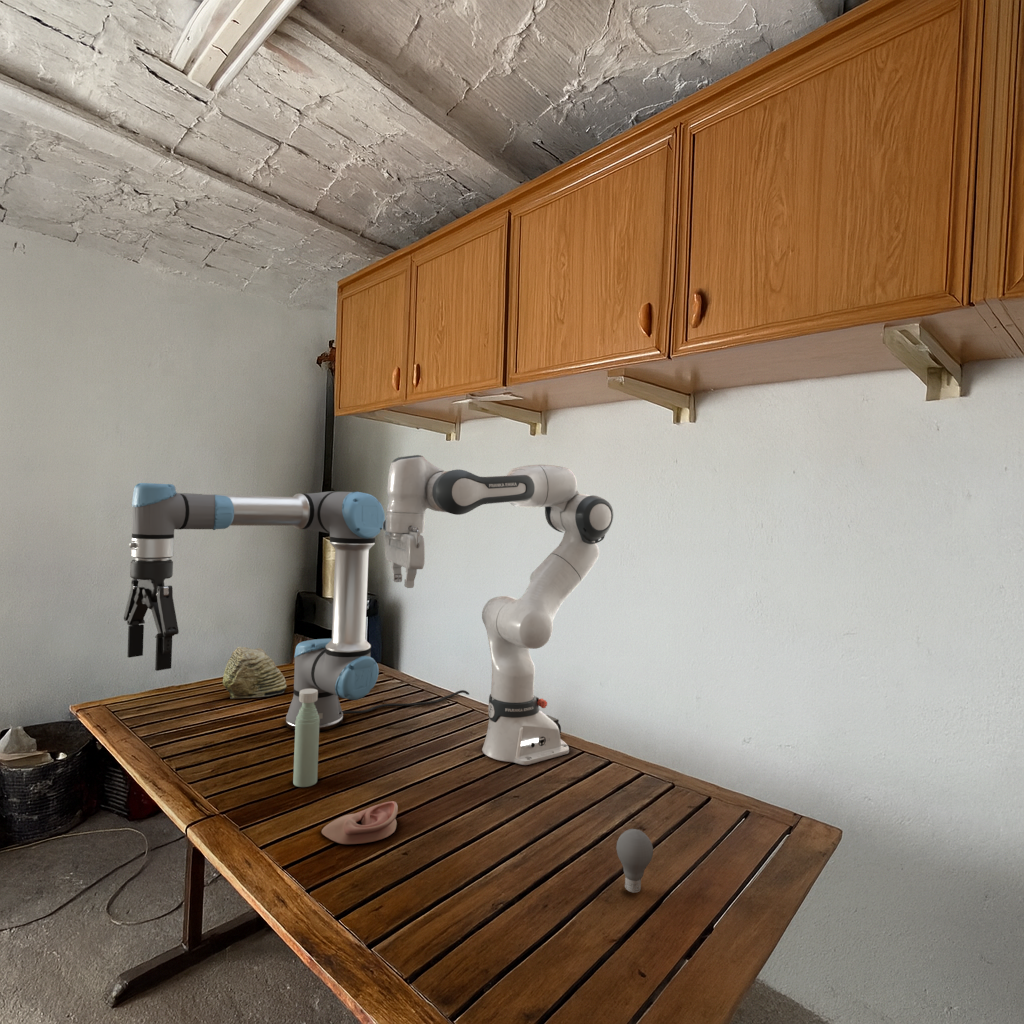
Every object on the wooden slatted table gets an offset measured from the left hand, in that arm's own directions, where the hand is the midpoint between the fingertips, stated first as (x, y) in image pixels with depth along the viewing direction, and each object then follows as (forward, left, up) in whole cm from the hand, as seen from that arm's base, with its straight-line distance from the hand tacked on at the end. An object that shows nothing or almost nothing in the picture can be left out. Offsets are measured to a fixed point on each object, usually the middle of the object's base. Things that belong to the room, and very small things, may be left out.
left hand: (148, 662), depth 129 cm
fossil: (-50, -47, -28) cm, 74 cm away
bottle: (-27, +17, -28) cm, 42 cm away
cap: (-27, +17, -8) cm, 32 cm away
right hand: (-44, +27, +16) cm, 54 cm away
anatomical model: (-22, +42, -28) cm, 55 cm away
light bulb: (-41, +90, -28) cm, 103 cm away
